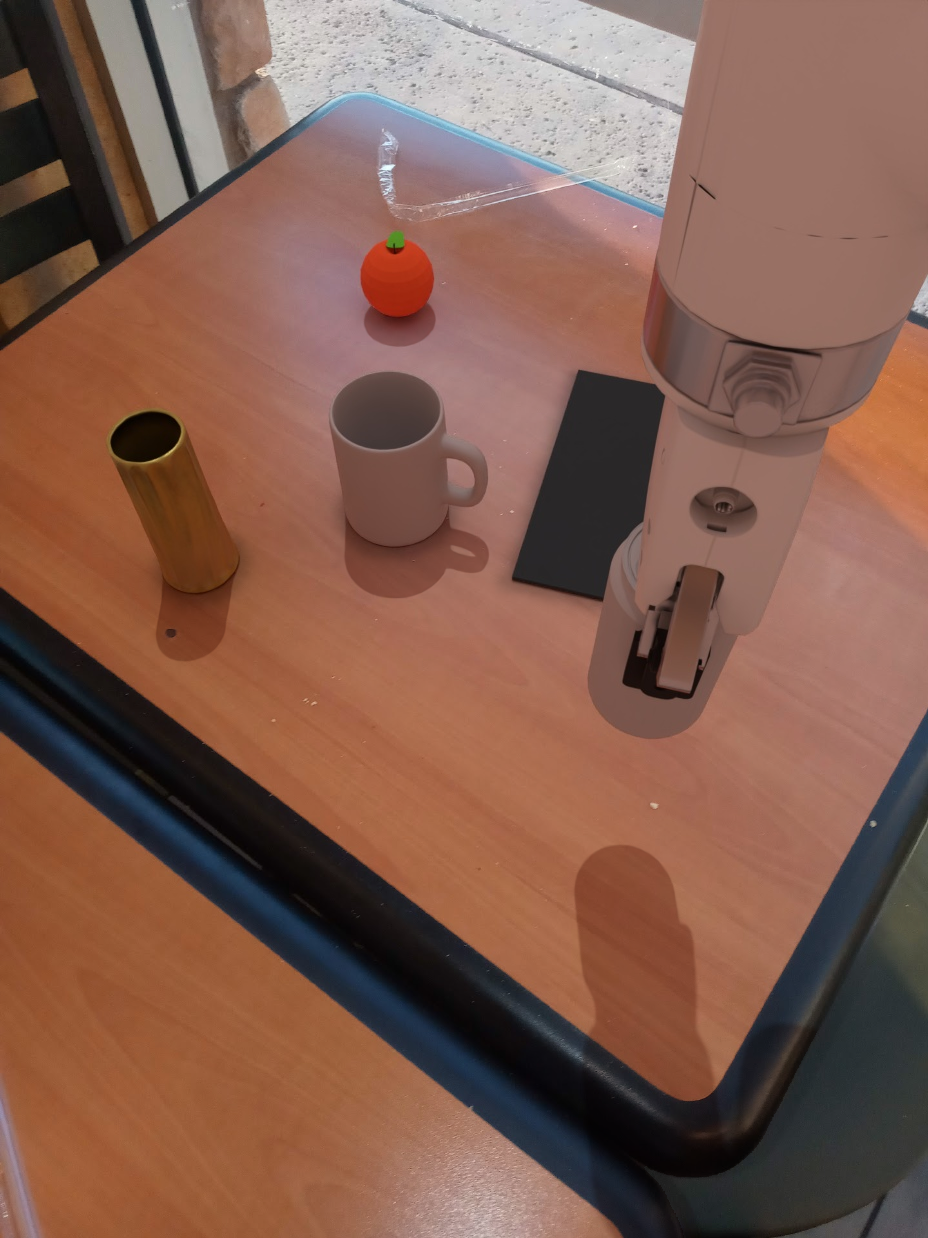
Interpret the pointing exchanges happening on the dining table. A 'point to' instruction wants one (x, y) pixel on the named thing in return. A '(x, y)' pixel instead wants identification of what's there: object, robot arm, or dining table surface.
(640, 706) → the beverage can
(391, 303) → the clementine
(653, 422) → the mat
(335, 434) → the mug
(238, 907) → the dining table surface
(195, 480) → the vase
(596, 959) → the dining table surface
